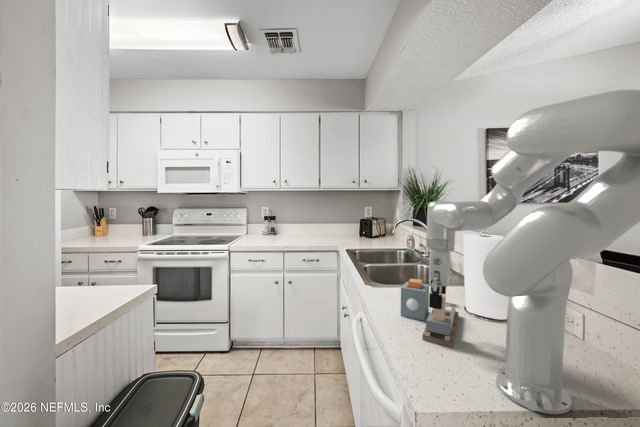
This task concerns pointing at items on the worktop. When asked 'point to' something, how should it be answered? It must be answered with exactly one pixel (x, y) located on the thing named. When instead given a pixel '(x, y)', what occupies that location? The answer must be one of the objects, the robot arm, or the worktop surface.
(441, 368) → the worktop surface
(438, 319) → the carriage
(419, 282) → the button
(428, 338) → the rail board
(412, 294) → the end cabinet
